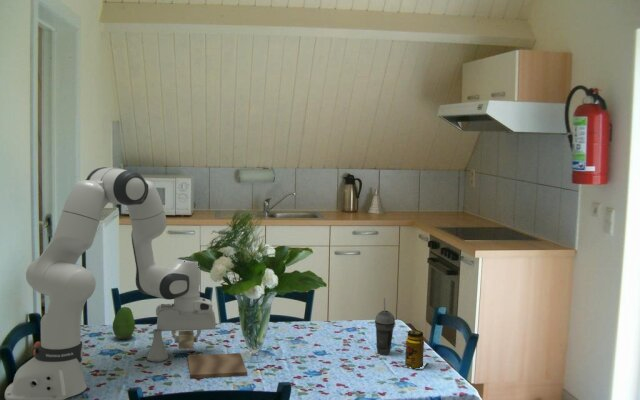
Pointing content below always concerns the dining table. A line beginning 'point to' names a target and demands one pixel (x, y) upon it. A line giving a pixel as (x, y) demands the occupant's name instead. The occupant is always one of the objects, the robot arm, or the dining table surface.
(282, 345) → the dining table surface
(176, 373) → the dining table surface
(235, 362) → the walnut board
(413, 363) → the condiment
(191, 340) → the birch cube
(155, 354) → the flask
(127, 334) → the avocado
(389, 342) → the beverage cup
